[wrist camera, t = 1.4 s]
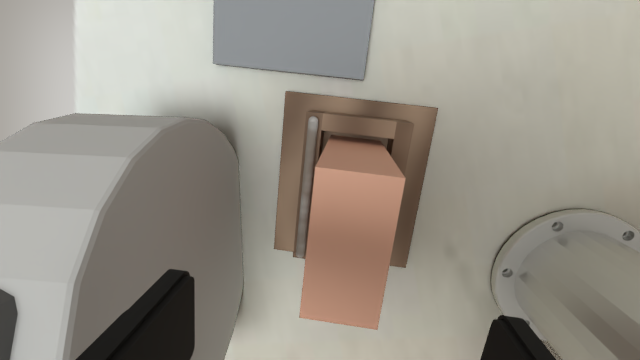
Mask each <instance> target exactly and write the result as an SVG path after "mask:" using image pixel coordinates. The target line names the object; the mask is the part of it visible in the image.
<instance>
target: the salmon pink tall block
mask: <svg viewBox="0 0 640 360" xmlns="http://www.w3.org/2000/svg"><path fill="white" fill-rule="evenodd" d="M405 179H406V178H405V177H404V175H403V174H402V172H401V171H400V169H399V168H398V166H397V165H396V163H395V162H394V160H393V159H392V157H391V156H390V154H389V153H388V151H387V150H386V148H385V147H384V145H383V144H382V142H381V141H380V140H372V139H363V138H355V137H347V136H338V135H331V136H330V138H329V140H328V142H327V144H326V146H325V148H324V150H323V152H322V154H321V156H320V158H319V160H318V162H317V164H316V166H315V174H314V183H313V193H312V202H311V212H310V222H309V231H308V241H307V250H306V260H305V269H304V279H303V288H302V298H301V307H300V317H299V318H305V319H312V320H318V321H325V322H331V323H337V324H344V325H350V326H357V327H363V328H369V329H376V330H377V329H378V323H379V318H380V313H381V307H382V302H383V297H384V291H385V286H386V281H387V275H388V270H389V264H390V259H391V254H392V248H393V243H394V238H395V232H396V227H397V222H398V216H399V211H400V206H401V200H402V195H403V190H404V184H405Z"/></svg>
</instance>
